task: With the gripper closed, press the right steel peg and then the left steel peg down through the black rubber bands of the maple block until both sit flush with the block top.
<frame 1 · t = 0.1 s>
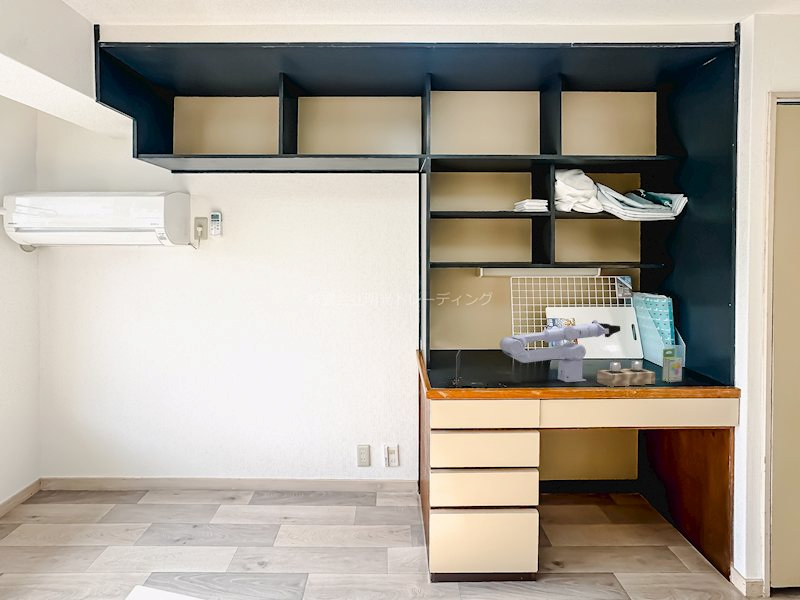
hand: (614, 327, 264), 22 cm above the table, tool horizontal, fingers open, 7 cm apart
ink box: (671, 381, 257), on the table
laptop: (472, 384, 255), on the table
maple peg block: (625, 383, 253), on the table
right steel peg: (636, 367, 254), point 6 cm above the table, slide at 3.5 cm
left steel peg: (615, 369, 251), point 6 cm above the table, slide at 3.5 cm
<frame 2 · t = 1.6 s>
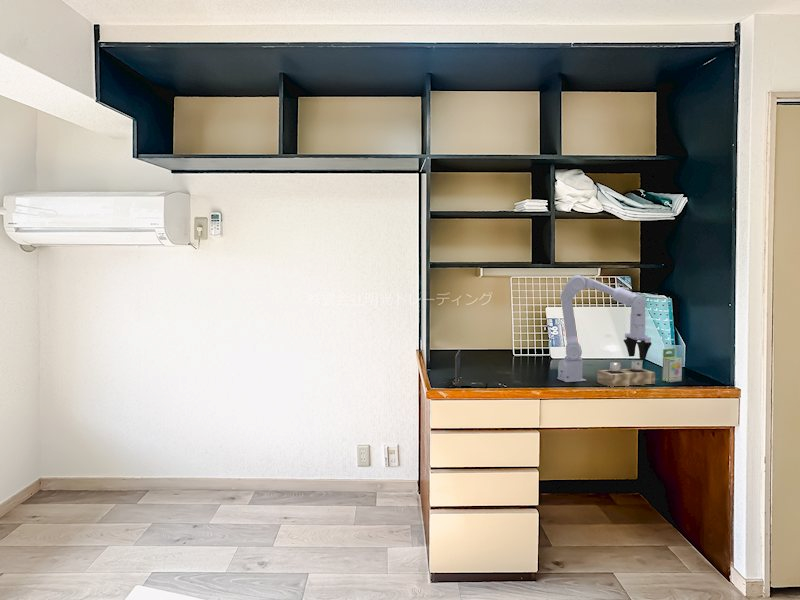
hand: (637, 357, 254), 10 cm above the table, tool pointing down, fingers open, 7 cm apart
nothing on the table moved.
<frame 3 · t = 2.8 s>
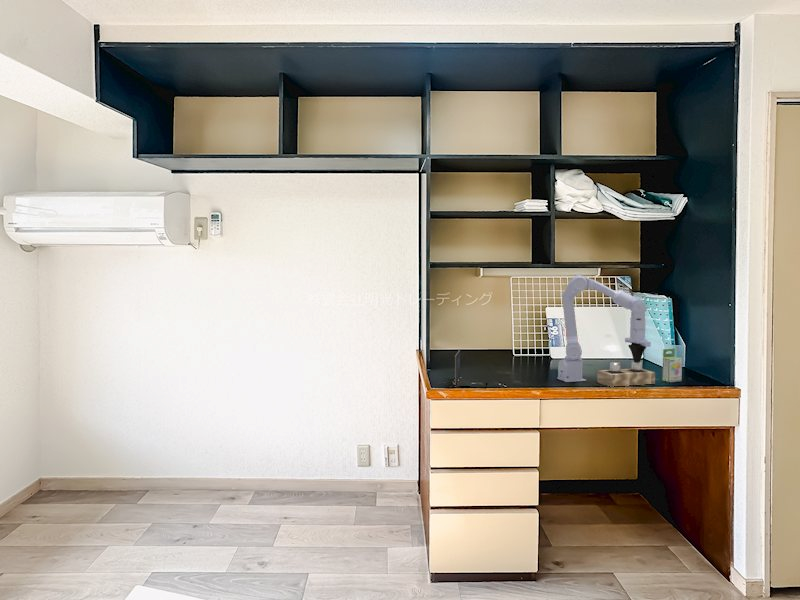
hand: (637, 361, 254), 9 cm above the table, tool pointing down, fingers closed, pressing on right steel peg
right steel peg: (636, 367, 254), point 6 cm above the table, slide at 3.5 cm, touching gripper
everything else where it was.
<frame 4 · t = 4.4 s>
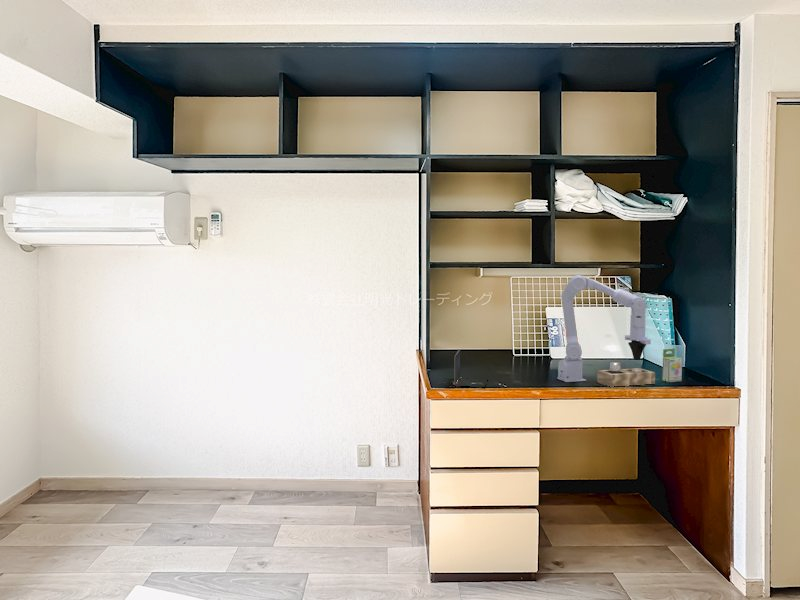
hand: (636, 359, 254), 10 cm above the table, tool pointing down, fingers closed
right steel peg: (636, 376, 254), point 3 cm above the table, slide at 0.1 cm
everything else where it was.
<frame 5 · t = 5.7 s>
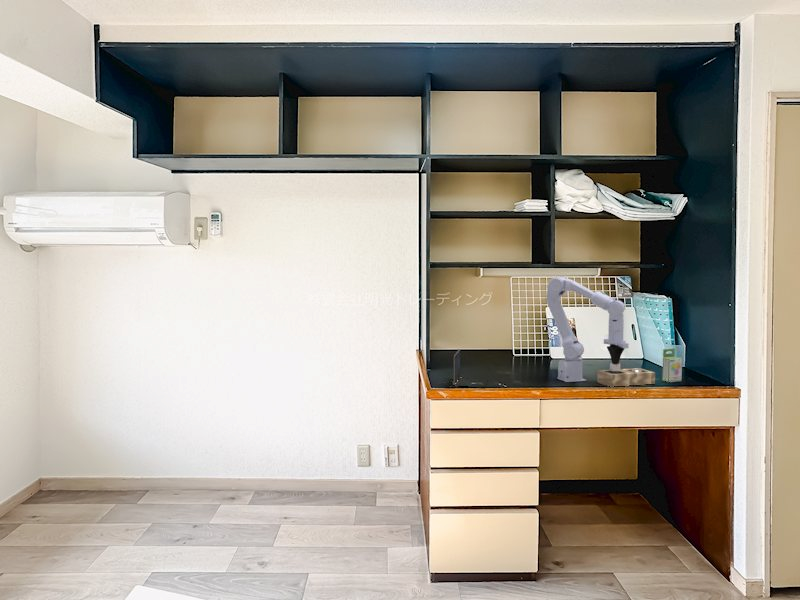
hand: (615, 363, 251), 8 cm above the table, tool pointing down, fingers closed, pressing on left steel peg
left steel peg: (615, 369, 251), point 6 cm above the table, slide at 3.3 cm, touching gripper
everything else where it was.
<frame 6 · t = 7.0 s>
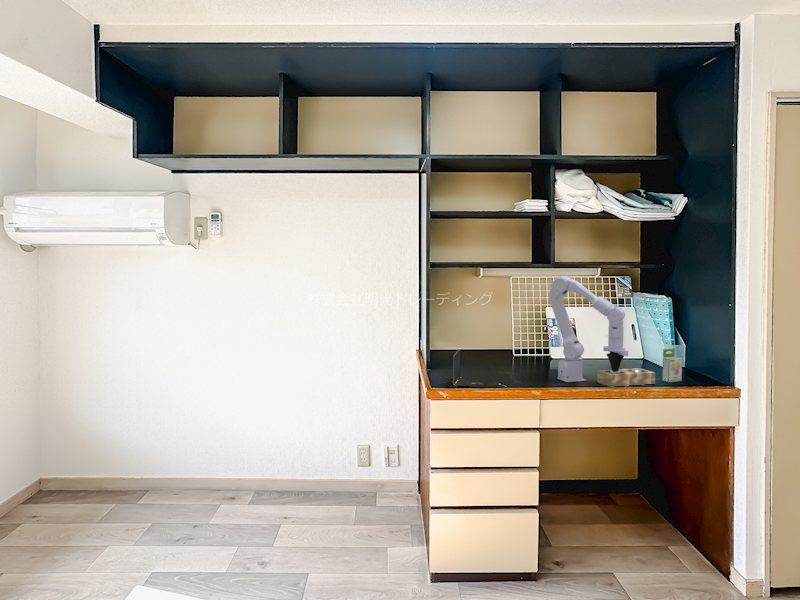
hand: (615, 371, 252), 5 cm above the table, tool pointing down, fingers closed
left steel peg: (615, 377, 252), point 3 cm above the table, slide at 0.1 cm
everything else where it was.
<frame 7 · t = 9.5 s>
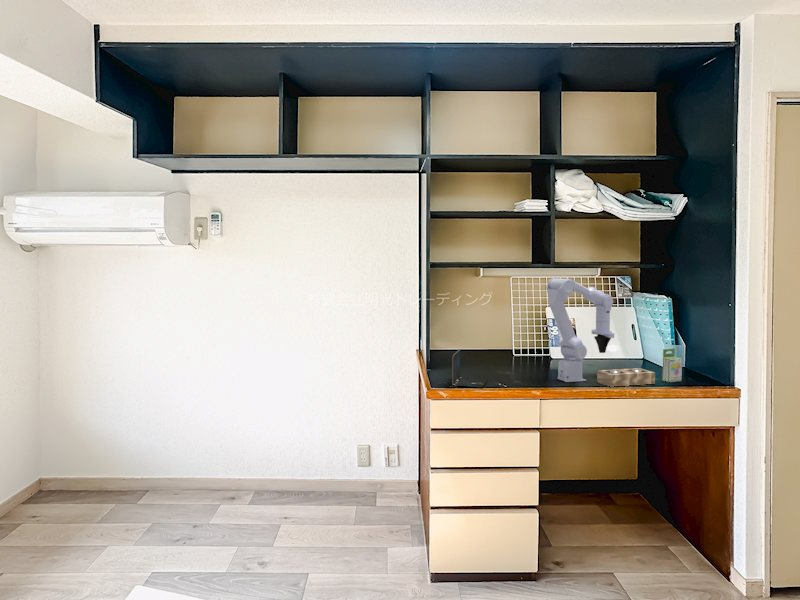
hand: (602, 352, 268), 10 cm above the table, tool pointing down, fingers closed
nothing on the table moved.
at the end: right steel peg slide at 0.1 cm; left steel peg slide at 0.1 cm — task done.
